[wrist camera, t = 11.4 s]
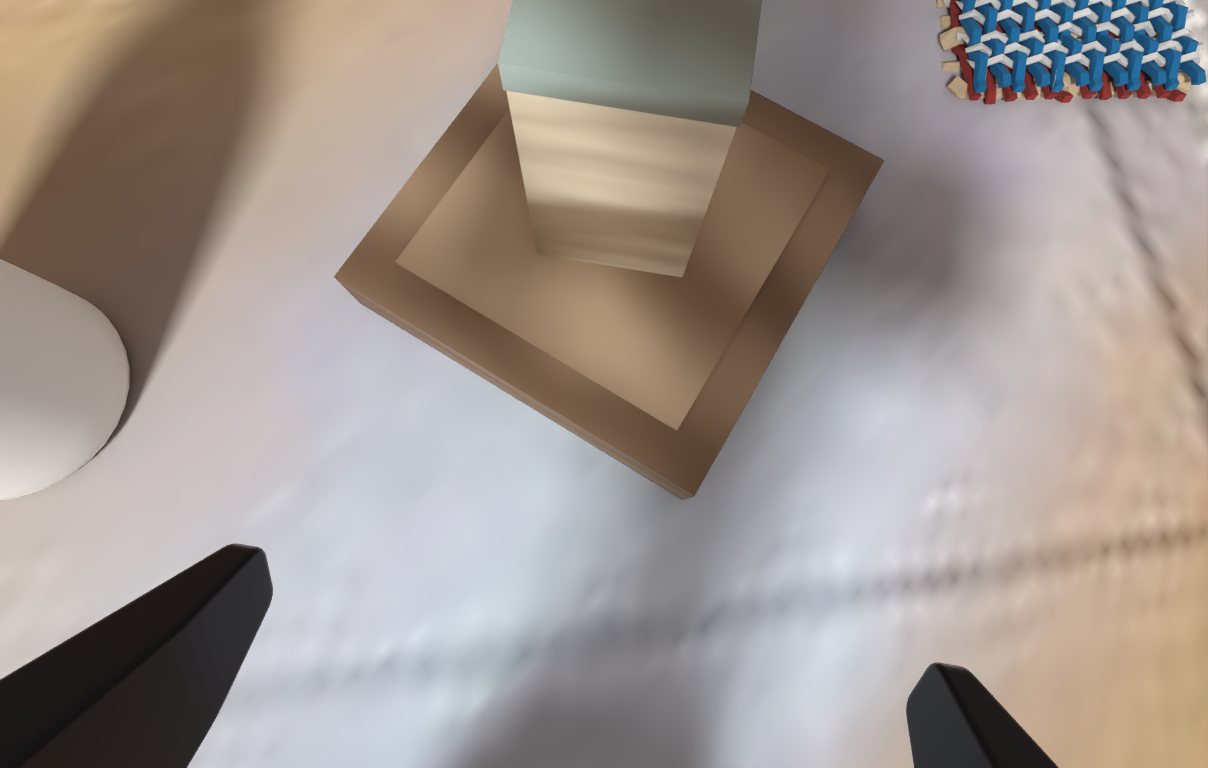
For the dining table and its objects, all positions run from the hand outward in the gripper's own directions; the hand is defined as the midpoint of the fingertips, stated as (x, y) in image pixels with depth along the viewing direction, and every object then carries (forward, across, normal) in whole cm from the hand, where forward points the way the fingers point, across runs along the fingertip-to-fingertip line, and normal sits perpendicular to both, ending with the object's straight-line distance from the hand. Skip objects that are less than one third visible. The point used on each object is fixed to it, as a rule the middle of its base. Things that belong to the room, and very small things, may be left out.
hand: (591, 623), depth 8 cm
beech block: (+16, +1, -1) cm, 16 cm away
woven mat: (+29, -16, -9) cm, 34 cm away
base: (+18, +1, +1) cm, 18 cm away
